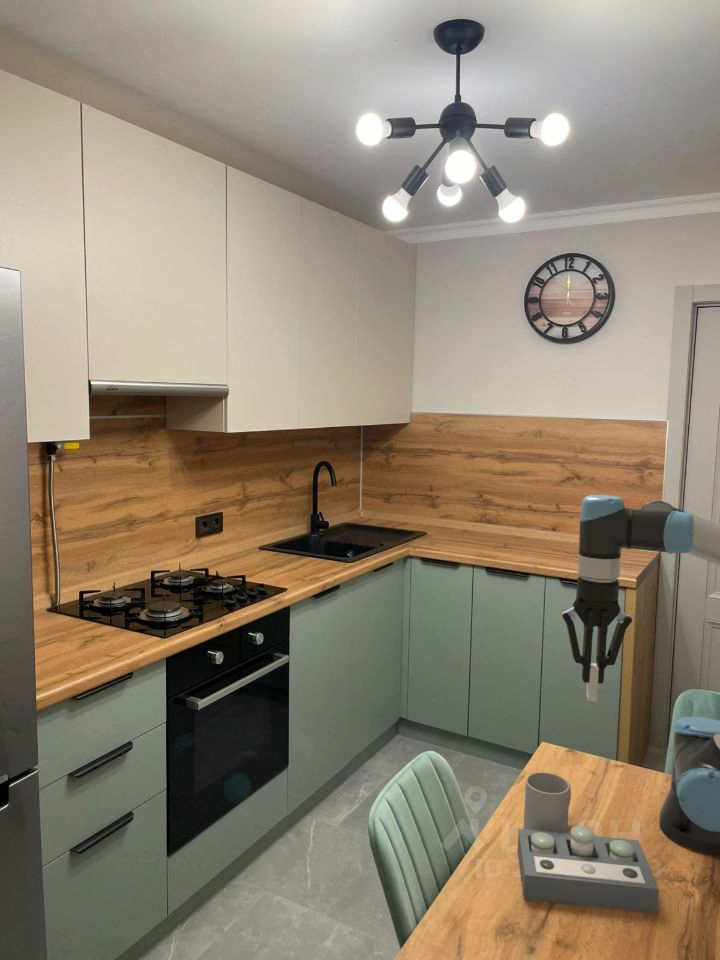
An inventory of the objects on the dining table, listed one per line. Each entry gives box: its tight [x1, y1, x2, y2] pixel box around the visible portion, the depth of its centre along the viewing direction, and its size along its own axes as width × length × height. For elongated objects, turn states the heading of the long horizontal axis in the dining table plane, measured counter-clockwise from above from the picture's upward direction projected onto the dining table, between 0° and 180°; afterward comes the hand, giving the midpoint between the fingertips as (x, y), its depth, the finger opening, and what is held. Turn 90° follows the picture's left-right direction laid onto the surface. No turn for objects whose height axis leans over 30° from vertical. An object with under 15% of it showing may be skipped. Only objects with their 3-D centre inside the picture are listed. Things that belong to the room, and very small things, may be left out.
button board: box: [517, 828, 660, 915], centre depth 130 cm, size 22×14×4 cm, turn 82°
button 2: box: [609, 840, 634, 862], centre depth 132 cm, size 4×4×4 cm
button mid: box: [570, 825, 596, 858], centre depth 132 cm, size 4×4×4 cm
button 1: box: [531, 832, 555, 854], centre depth 134 cm, size 4×4×4 cm
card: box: [534, 856, 645, 885], centre depth 126 cm, size 18×4×1 cm, turn 82°
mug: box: [522, 772, 572, 833], centre depth 145 cm, size 12×8×11 cm
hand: (591, 698), depth 139 cm, fingers closed
